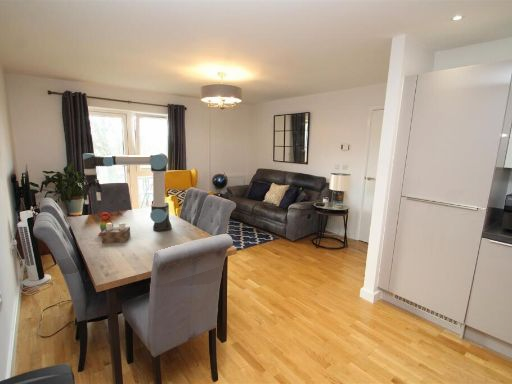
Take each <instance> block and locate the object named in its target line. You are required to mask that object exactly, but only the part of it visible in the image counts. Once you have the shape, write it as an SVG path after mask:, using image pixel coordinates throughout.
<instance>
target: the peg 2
mask: <svg viewBox="0 0 512 384" xmlns="http://www.w3.org/2000/svg"><path fill="white" fill-rule="evenodd" d="M118 225H119V226H118V227H119V229H120V230H125V227H126V222H119V223H118Z"/></svg>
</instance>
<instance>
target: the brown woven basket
mask: <svg viewBox="0 0 512 384" xmlns="http://www.w3.org/2000/svg"><path fill="white" fill-rule="evenodd" d="M100 232H101V231H100ZM101 235H102V236H101V244H110V243H111V244H114V243H116V244H117V243H126V242H127V241H128V240H129V239H130V238H131V226H125V230H120V229H119V226H117V227H116V226H115V227H114V226H113V230H112V231H107V229H105V230H104V231H103V232H101Z"/></svg>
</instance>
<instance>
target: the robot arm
mask: <svg viewBox="0 0 512 384" xmlns="http://www.w3.org/2000/svg"><path fill="white" fill-rule="evenodd" d="M82 163H83V171H84V180H85V181H83V182H82V189H81V192H80V196H83V201H84V205H89V204H90V203H89V202H90V200H89V195H88V194H89V192H90V189H91V188H92V187H93V189H94V190H95V191H96V201H102V197H101V196H102V195H101V193H102V192H103V188H102V186H101V183H100V182H99V179H97V168H96V167H112V166H150V172H152V181H153V182H152V183H153V184H152V192H153V193H152V194H153V195H152V196H153V197H152V199H153V202H152V204H151V206H150V207H151V208H150V210H151V212H150V216H149V217H150V220H151V221H153V226H152V230H153V231H155V232H166V231H169V230H171V229H172V228H173V227H172V223H171V221H170V209H169V208H170V207H169V206H170V204H169V202H166V199H165V198H166V197H165V196H166V193H165V192H166V188H165V187H166V186H165V185H166V173H167V171H168V169H167V168H168V167H167V166H168V165H169V158H168V156H167V155H166V154H164V153H160V152H159V153H151V154H150V155H103V156H102V155H99V156H97V155H95V153H82Z"/></svg>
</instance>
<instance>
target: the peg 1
mask: <svg viewBox="0 0 512 384" xmlns="http://www.w3.org/2000/svg"><path fill="white" fill-rule="evenodd" d="M113 227H114V226H113ZM113 227H112V223H107V224H106V229H107V231H112V230H113Z"/></svg>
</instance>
